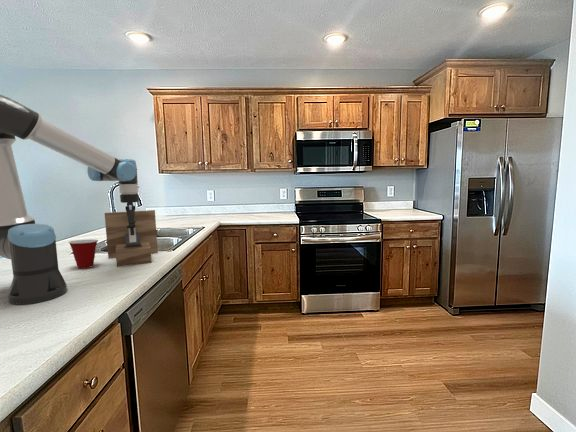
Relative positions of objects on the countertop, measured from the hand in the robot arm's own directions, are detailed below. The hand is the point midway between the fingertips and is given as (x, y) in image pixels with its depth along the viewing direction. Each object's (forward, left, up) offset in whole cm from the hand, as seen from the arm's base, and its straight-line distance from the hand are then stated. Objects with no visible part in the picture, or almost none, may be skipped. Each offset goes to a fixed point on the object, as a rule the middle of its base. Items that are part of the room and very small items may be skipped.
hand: (132, 239), depth 143 cm
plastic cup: (0, +19, -10) cm, 22 cm away
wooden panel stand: (+3, 0, -10) cm, 11 cm away
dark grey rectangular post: (0, 0, -9) cm, 9 cm away
